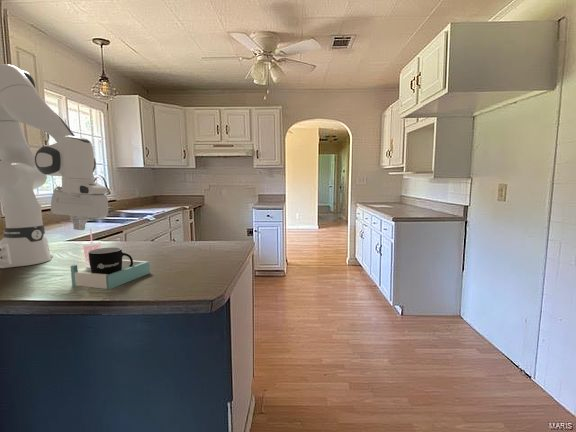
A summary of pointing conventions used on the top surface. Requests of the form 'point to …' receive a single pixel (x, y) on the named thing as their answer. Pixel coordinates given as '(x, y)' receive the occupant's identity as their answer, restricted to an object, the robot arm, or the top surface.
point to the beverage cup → (90, 248)
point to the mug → (107, 260)
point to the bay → (110, 275)
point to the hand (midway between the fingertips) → (79, 229)
